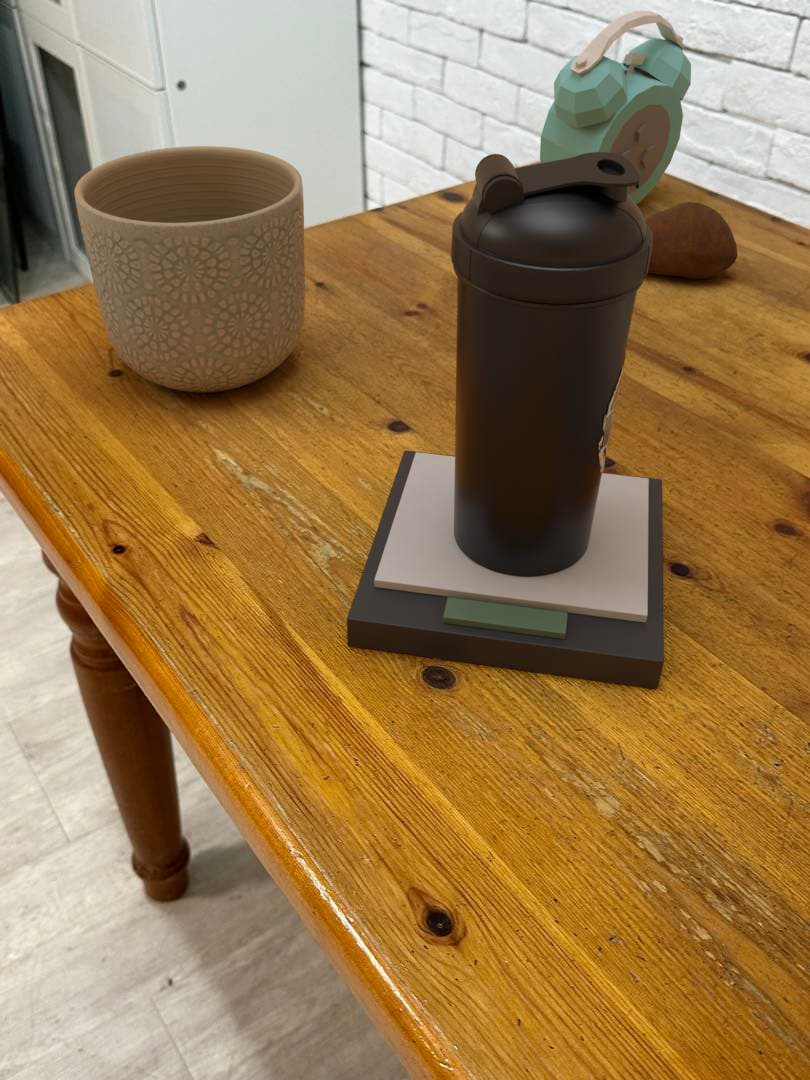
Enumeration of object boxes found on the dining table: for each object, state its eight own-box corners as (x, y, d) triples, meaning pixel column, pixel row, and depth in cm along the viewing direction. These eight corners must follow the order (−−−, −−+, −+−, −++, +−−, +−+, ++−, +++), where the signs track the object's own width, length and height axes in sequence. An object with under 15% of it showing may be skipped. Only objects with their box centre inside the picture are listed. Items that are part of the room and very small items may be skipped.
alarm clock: (621, 176, 125) (647, -10, 113) (684, 199, 119) (719, 6, 107) (517, 209, 116) (533, 12, 104) (580, 236, 111) (605, 30, 98)
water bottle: (619, 583, 62) (689, 200, 48) (448, 589, 61) (467, 203, 47) (584, 484, 70) (636, 131, 56) (433, 489, 69) (445, 133, 55)
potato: (621, 255, 107) (631, 187, 102) (724, 260, 106) (739, 191, 102) (626, 285, 101) (637, 214, 97) (736, 290, 101) (752, 219, 96)
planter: (304, 416, 82) (293, 225, 72) (87, 415, 81) (47, 224, 72) (317, 318, 95) (309, 145, 85) (130, 317, 95) (101, 144, 85)
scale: (657, 504, 73) (663, 471, 71) (657, 689, 59) (665, 654, 57) (404, 475, 75) (404, 442, 74) (347, 646, 62) (346, 610, 60)
